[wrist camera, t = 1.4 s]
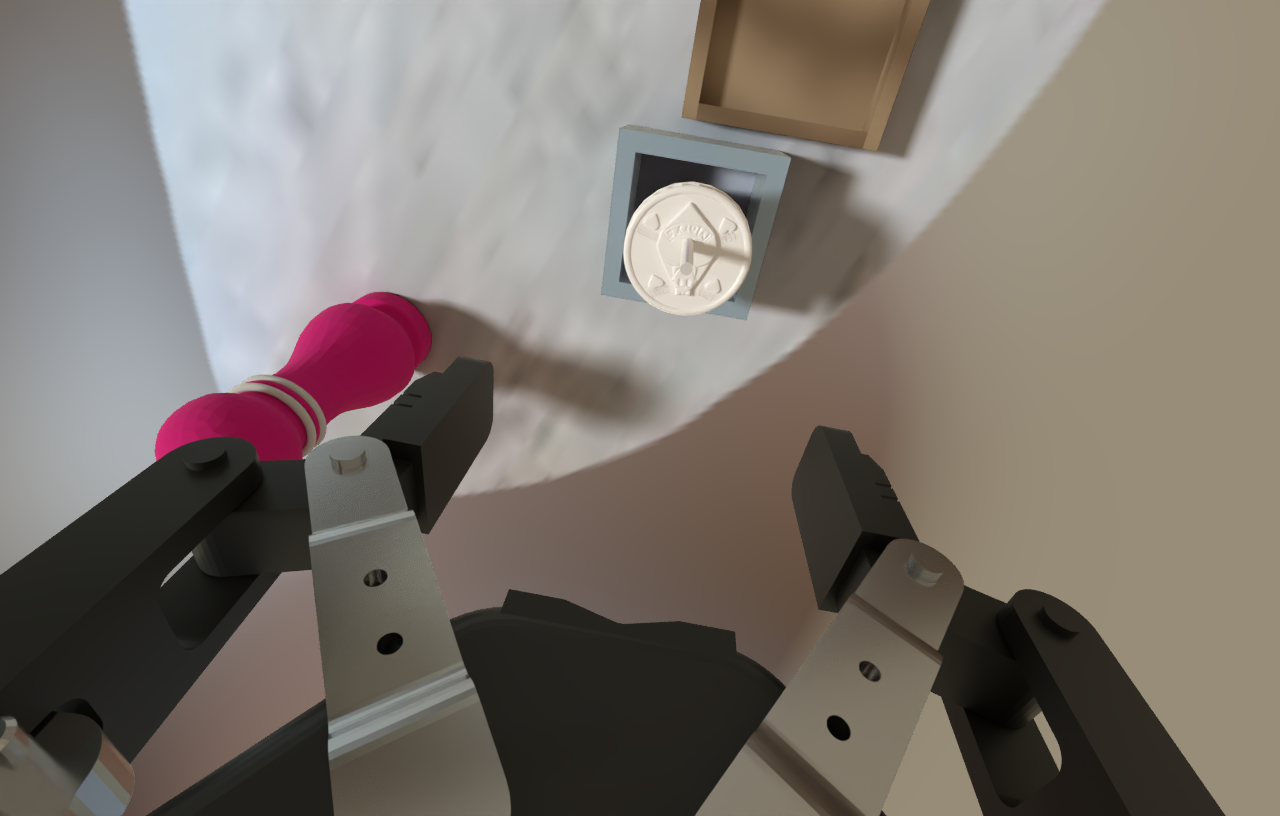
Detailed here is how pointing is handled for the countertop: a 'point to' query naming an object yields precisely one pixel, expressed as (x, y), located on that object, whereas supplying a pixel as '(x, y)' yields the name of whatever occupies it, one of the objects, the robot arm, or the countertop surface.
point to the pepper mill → (313, 381)
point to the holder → (704, 151)
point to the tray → (802, 66)
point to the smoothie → (687, 248)
